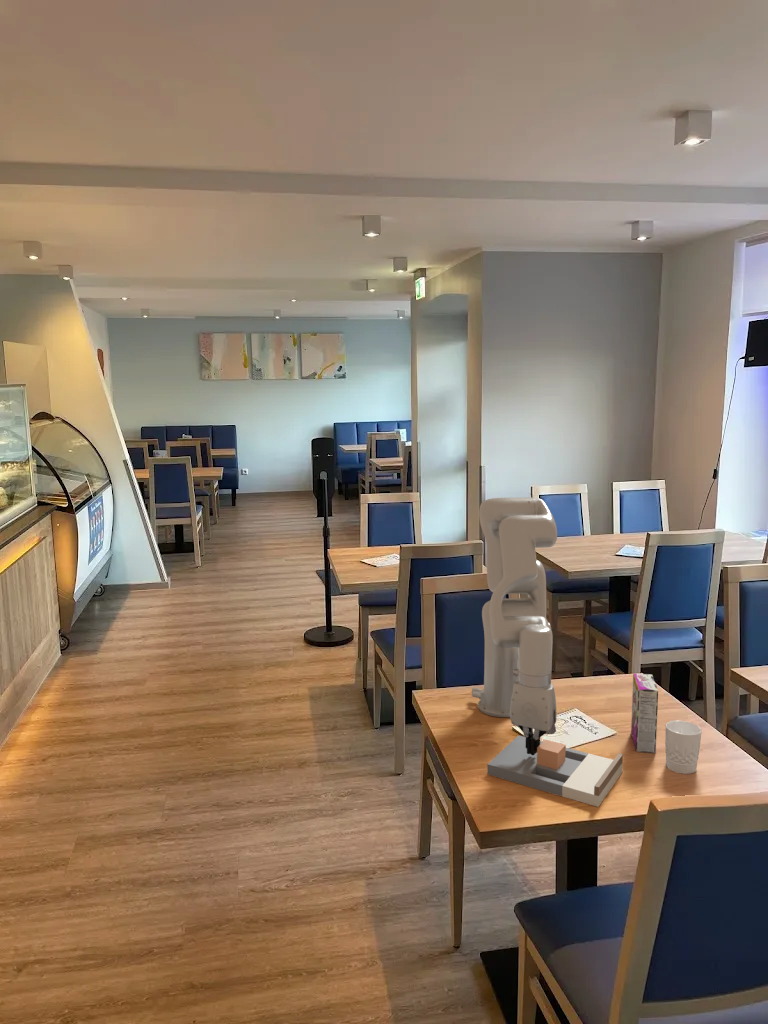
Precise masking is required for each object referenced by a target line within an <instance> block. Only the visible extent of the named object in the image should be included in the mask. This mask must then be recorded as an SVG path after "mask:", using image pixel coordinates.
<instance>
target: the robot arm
mask: <svg viewBox="0 0 768 1024" xmlns="http://www.w3.org/2000/svg"><path fill="white" fill-rule="evenodd" d="M478 511H479V512H478V515H479V516H478V517H479V518H478V519H479V523H480V527H481V530H482V533H483V535H484V539H485V543H486V581H487V586H488V589H489V591H490V592H492V594H491V598H490V600H488V601H486V602H485V603H484V605H483V606H482V608H481V609H482V610H481V618H482V626H483V631H484V632H483V633H484V634H483V635H484V637H483V638H484V663H483V666H484V669H483V670H484V671H483V673H484V674H483V688H478V687H476V686H475V687H474V686H473V687H472V689H471V697H473V698H477V699H479V701H478V703H477V706H478V707H477V708H478V710H479V711H480V712H482V713H483V714H484V715H488V716H489V717H490V716H491V717H496V718H509V719H510V723H511V725H513V726H515V727H516V728H517V727H518V728H519V729H520V731H521V732H522V733H523V737H526V746H525V747H526V748H527V754H531V755H535V754H536V753H537V747H538V746H539V745H540V741H541V738H542V737H543V736H544V735H554V734H555V733H556V731H557V730H556V723H557V718H558V717H557V715H558V714H557V712H558V711H557V699H556V692H555V686H554V684H552V665H553V663H552V662H553V661H552V660H553V638H554V637H553V631H552V627H551V626H552V625H551V623H550V622H549V621H548V619H547V578H546V577H547V576H546V571H545V568H544V565H543V563H542V562H541V561H540V560H537V553H536V548H537V549H538V548H539V549H540V548H541V549H542V548H543V549H544V548H545V549H546V548H552V547H554V546H555V544H556V542H557V539H558V529H557V523H556V520H555V518H554V515H553V513H552V512H551V511H550V509H549V507H548V506H547V504H546V502H545V501H544V500H543V499H541V498H539V497H494V498H493V497H491V498H489V499H488V498H487V499H485V500H484V501H482V502H481V503H480V506H479V510H478ZM511 594H512V595H517V594H518V595H520V594H521V595H522V594H525V595H527V597H526V598H512V597H510V598H505V596H506V595H511Z"/></svg>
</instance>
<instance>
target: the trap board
mask: <svg viewBox="0 0 768 1024" xmlns="http://www.w3.org/2000/svg"><path fill="white" fill-rule="evenodd" d="M543 741H544V740H543ZM543 741H542V740H540V744H541V743H542V742H543ZM525 746H526V737H525V736H524V735H517V736H516V737H515V738H514V739H513V740H512V741H511V742H509V744H507V745H506V746H505V747H504V748H503V749H502V750H501V751H500V752H499V753H497V755H496V756H494V757H493V759H491V761H489V762H488V763H487V764H486V765H487V770H486V772H487V775H489V776H491V775H492V777H495V776H496V777H495V778H499V779H503V780H506V781H507V782H508V781H509V782H512V783H515V784H519V785H523V786H525V787H529V788H532V789H536V790H539V791H543V792H546V793H550V794H553V795H556V796H560V797H563V798H566V799H570V800H572V801H577V802H579V803H582V804H583V803H584V804H586V805H589V806H593V807H596V808H598V807H599V806H600V805H601V804H602V802H603V801H604V799H605V798H606V796H607V795H608V794H609V792H610V791H611V790H612V788H613V786H615V785H614V784H615V783H616V782H617V780H619V777H620V776H621V775H622V773H623V764H624V761H623V760H624V754H623V753H619V752H618V753H617V755H616V756H615V757H614V759H612V758H608V757H604V756H600V755H596V754H592V753H589V752H584V751H580V750H576V749H574V748H570V747H566V753H565V762H564V763H563V764H562V765H561V766H560V767H559V768H558V770H557V769H553V768H550V767H546V766H543V765H539V764H537V753H536V754H535V755H531V754H527V748H526V747H525Z"/></svg>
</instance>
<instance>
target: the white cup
mask: <svg viewBox="0 0 768 1024" xmlns="http://www.w3.org/2000/svg"><path fill="white" fill-rule="evenodd" d="M701 739H702V728H701V727H700V726H699V725H698V724H696V723H693V722H690V721H685V720H678V719H677V720H676V719H675V720H670V721H668V722H665V740H664V741H665V743H664V744H665V766H666V767H667V769H668V770H669V771H672V772H674V773H677V774H681V773H682V775H683V774H684V775H688V774H694V773H696V772H697V767H698V760H699V754H700V749H701Z"/></svg>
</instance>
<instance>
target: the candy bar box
mask: <svg viewBox="0 0 768 1024" xmlns="http://www.w3.org/2000/svg"><path fill="white" fill-rule="evenodd" d="M632 674H633V675H632V696H631V697H632V698H631V699H632V700H631V726H630V733H631V737H632V740H633V744H634V747H635V752H639V753H648V754H649V753H650V754H655V753H657V752H656V749H657V728H658V707H659V706H658V705H659V701H658V700H659V689H658V687H657V684H656V681H655V679H654V676H653V674H649V673H637V672H635V673H632Z"/></svg>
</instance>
